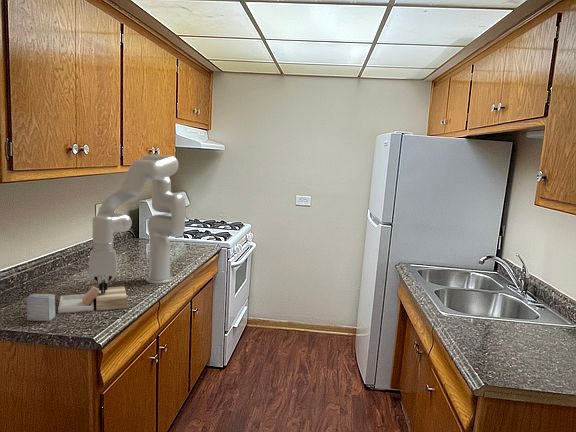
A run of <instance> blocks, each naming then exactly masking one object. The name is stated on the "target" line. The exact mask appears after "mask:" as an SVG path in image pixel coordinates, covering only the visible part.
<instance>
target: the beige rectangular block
mask: <svg viewBox="0 0 576 432" xmlns="http://www.w3.org/2000/svg"><path fill="white" fill-rule="evenodd" d="M96 288H97V287H96ZM97 289H98V292H99V294H98V295H97V296H96V297H95V299H96V301H95V303H96V305H95V306H96V307H95V308H96V311H107V310H108V311H109V310H116V309H117V310H119V309H121V310H122V309H127V308H128V296H127V291H126V287H125V286H113V287H107V290H105V293H101V291H99V287H98V288H97Z"/></svg>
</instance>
